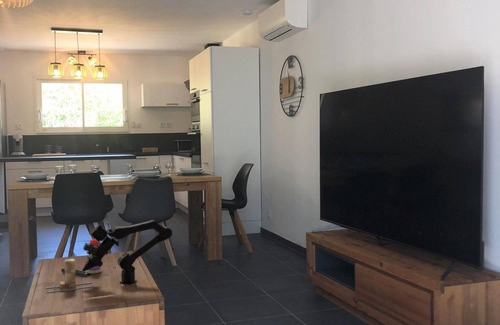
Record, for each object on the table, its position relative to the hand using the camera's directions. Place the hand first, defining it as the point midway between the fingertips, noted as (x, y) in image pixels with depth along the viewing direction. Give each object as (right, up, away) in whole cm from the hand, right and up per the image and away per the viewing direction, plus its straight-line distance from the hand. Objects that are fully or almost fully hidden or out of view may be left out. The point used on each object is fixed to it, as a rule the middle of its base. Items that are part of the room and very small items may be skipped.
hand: (82, 271), depth 267 cm
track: (-6, -9, -2) cm, 11 cm away
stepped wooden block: (-7, -8, -3) cm, 11 cm away
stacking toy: (-3, -7, +31) cm, 32 cm away
